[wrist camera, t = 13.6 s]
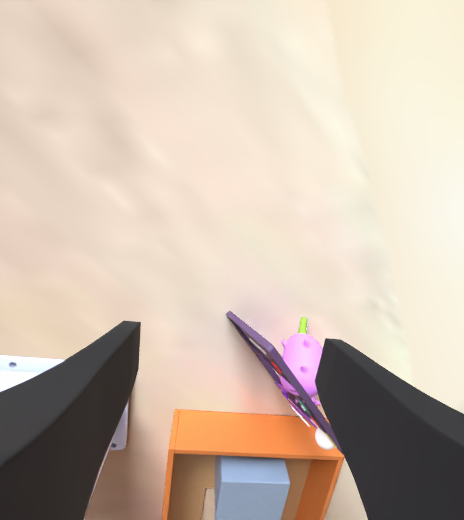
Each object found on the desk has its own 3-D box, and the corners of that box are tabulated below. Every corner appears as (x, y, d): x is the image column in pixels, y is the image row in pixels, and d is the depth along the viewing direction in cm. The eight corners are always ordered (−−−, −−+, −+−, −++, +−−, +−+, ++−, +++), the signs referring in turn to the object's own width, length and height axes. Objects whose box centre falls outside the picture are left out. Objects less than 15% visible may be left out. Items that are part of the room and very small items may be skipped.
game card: (256, 360, 14) (335, 466, 17) (328, 294, 16) (393, 402, 18) (216, 319, 21) (279, 401, 23) (270, 275, 22) (324, 358, 24)
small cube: (214, 467, 25) (214, 520, 21) (220, 432, 24) (221, 481, 20) (270, 469, 26) (280, 522, 22) (278, 435, 25) (290, 483, 21)
